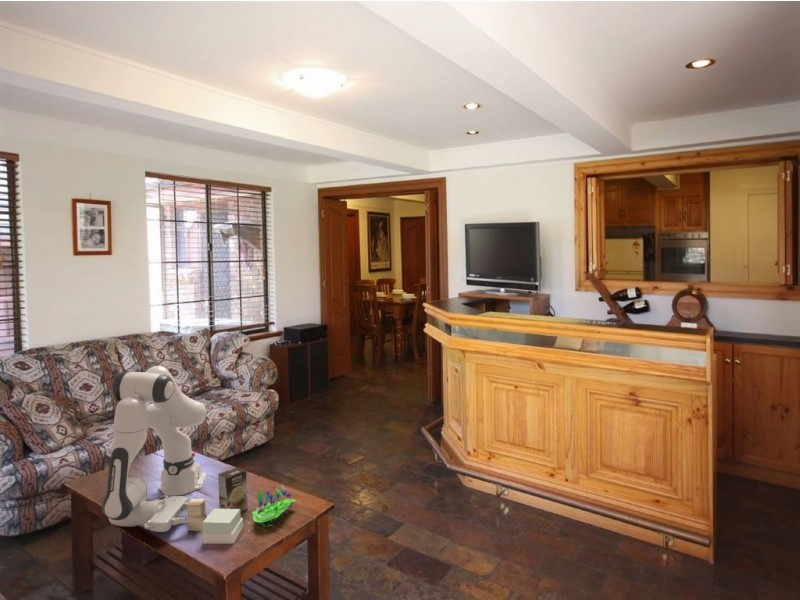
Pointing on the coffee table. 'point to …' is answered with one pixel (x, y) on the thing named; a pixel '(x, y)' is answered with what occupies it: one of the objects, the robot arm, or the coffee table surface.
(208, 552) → the coffee table surface
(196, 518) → the birch block
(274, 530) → the coffee table surface
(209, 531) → the top slab
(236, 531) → the bottom slab
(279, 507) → the diorama
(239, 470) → the coffee box
